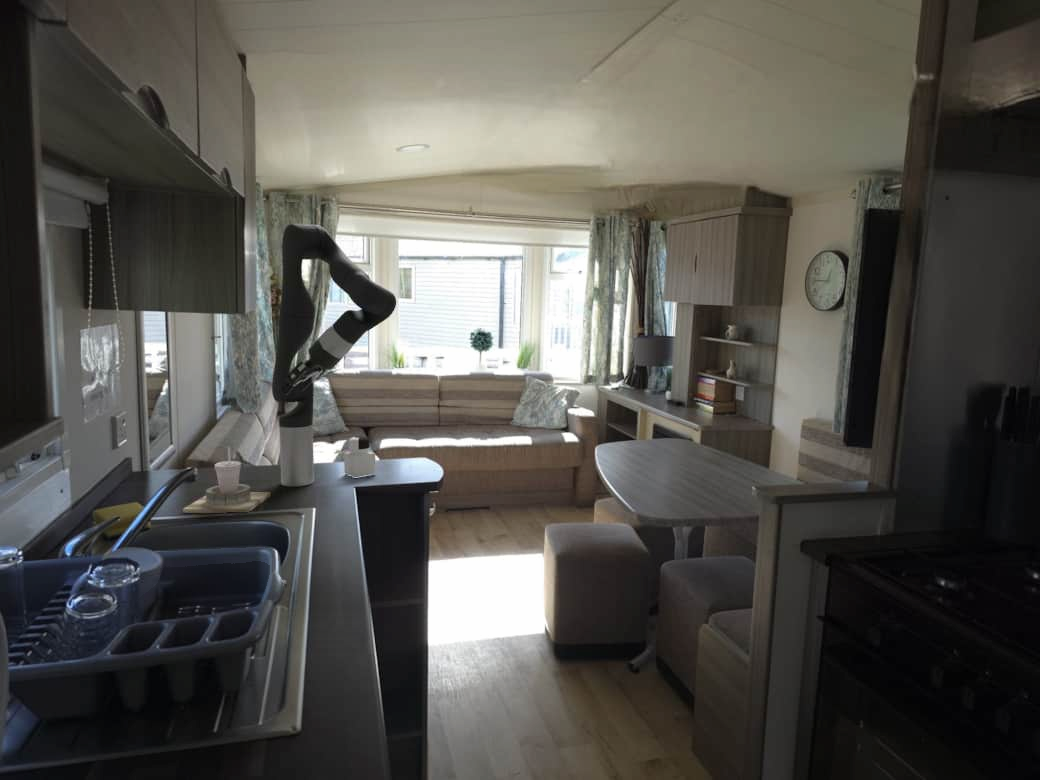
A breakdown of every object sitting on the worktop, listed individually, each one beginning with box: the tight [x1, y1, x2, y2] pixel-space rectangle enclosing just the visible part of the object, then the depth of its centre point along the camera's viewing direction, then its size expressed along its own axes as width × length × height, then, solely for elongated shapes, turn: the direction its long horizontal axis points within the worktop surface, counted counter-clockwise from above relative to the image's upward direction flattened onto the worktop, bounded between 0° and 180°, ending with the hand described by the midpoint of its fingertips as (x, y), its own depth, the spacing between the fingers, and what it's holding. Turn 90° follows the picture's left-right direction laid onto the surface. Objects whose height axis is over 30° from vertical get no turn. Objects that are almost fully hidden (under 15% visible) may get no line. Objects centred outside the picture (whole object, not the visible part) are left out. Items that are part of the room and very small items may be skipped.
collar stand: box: [182, 483, 272, 514], centre depth 174 cm, size 16×16×4 cm
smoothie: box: [213, 446, 242, 493], centre depth 173 cm, size 6×6×14 cm
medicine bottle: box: [343, 435, 376, 477], centre depth 206 cm, size 7×7×12 cm
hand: (290, 391), depth 169 cm, fingers open, 8 cm apart
